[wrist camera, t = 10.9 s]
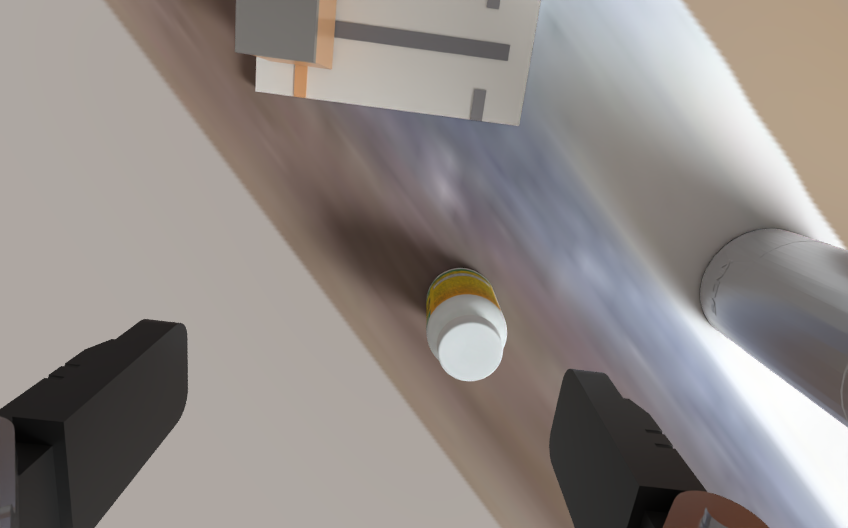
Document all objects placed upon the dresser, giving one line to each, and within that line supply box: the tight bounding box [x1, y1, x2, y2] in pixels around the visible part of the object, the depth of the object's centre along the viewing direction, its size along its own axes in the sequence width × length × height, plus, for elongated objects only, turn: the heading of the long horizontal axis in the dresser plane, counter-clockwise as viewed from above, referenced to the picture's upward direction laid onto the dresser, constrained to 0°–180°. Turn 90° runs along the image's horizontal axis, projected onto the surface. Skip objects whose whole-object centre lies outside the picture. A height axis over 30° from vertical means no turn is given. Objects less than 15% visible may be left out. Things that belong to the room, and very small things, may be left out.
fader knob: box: [235, 0, 337, 70], centre depth 30 cm, size 4×5×6 cm
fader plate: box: [255, 0, 541, 126], centre depth 34 cm, size 18×9×2 cm, turn 83°
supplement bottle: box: [426, 268, 507, 381], centre depth 36 cm, size 5×5×10 cm
